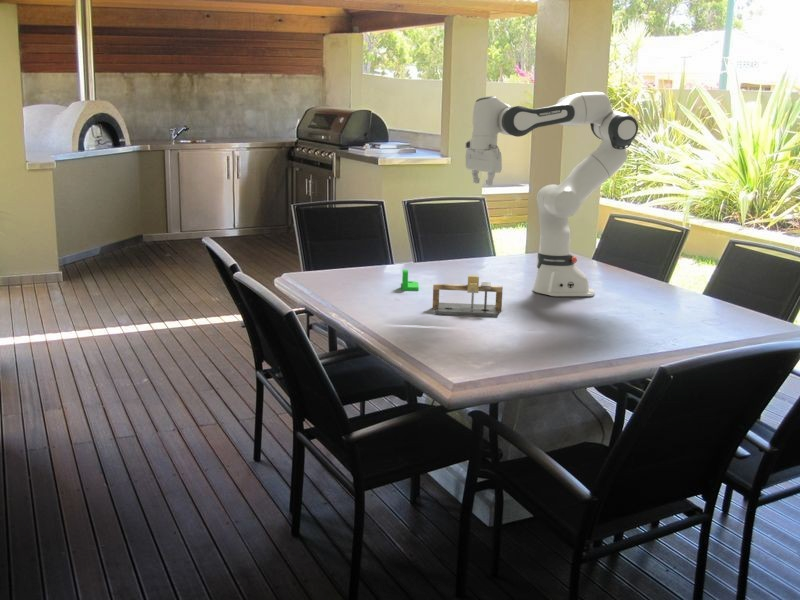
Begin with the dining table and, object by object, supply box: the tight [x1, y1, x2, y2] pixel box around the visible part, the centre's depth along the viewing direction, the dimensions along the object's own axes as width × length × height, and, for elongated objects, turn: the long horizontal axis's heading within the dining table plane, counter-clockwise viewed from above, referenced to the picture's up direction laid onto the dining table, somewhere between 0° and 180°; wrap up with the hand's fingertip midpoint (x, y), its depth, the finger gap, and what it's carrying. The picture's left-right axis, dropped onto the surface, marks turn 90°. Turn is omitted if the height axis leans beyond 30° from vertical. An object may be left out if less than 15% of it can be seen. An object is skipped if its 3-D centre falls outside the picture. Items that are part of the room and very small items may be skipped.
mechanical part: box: [401, 269, 420, 292], centre depth 315 cm, size 12×6×8 cm, turn 0°
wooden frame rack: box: [432, 281, 504, 312], centre depth 280 cm, size 23×6×9 cm, turn 85°
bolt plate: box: [435, 302, 499, 318], centre depth 281 cm, size 20×13×1 cm, turn 85°
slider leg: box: [466, 274, 480, 309], centre depth 280 cm, size 4×7×10 cm, turn 175°
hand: (482, 184), depth 296 cm, fingers open, 8 cm apart
